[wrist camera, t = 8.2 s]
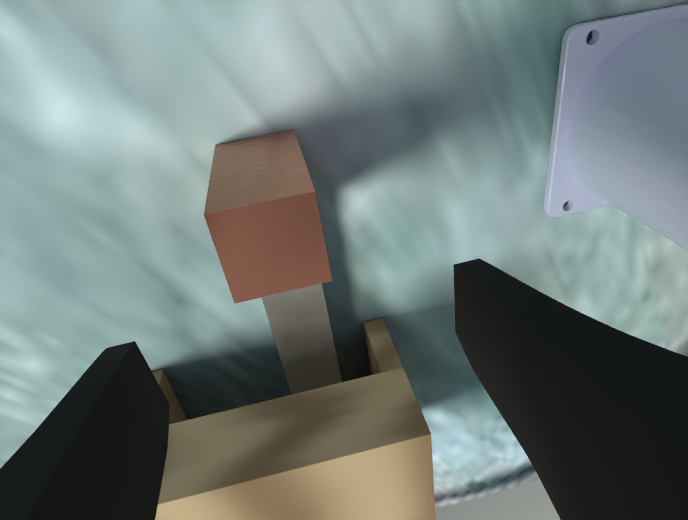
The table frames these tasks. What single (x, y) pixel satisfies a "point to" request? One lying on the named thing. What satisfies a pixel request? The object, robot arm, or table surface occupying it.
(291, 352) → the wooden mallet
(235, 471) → the wooden bridge block
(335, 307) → the table surface
